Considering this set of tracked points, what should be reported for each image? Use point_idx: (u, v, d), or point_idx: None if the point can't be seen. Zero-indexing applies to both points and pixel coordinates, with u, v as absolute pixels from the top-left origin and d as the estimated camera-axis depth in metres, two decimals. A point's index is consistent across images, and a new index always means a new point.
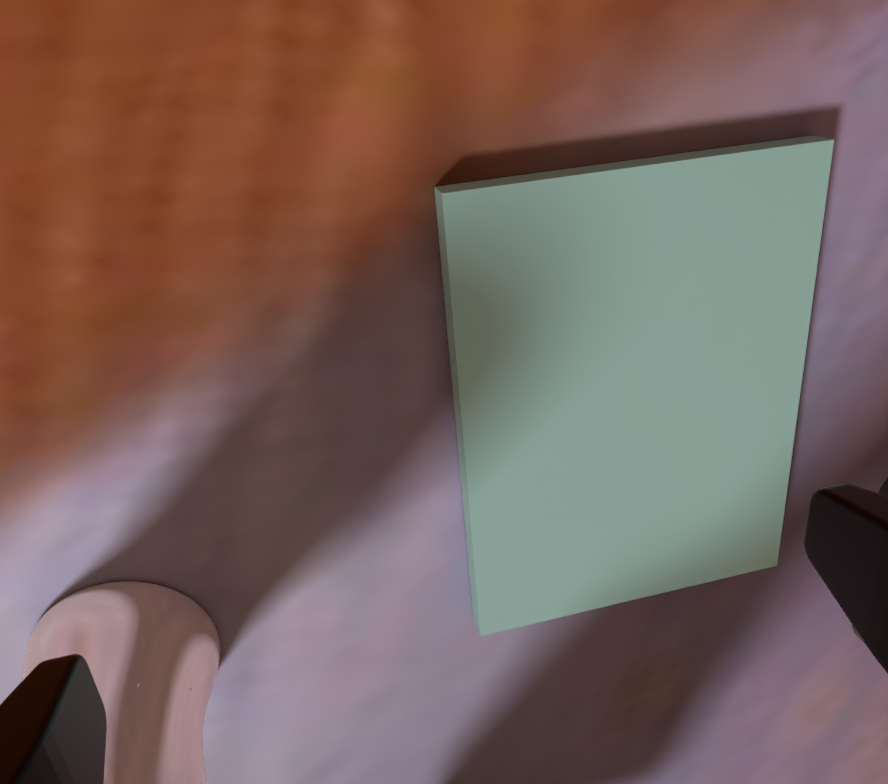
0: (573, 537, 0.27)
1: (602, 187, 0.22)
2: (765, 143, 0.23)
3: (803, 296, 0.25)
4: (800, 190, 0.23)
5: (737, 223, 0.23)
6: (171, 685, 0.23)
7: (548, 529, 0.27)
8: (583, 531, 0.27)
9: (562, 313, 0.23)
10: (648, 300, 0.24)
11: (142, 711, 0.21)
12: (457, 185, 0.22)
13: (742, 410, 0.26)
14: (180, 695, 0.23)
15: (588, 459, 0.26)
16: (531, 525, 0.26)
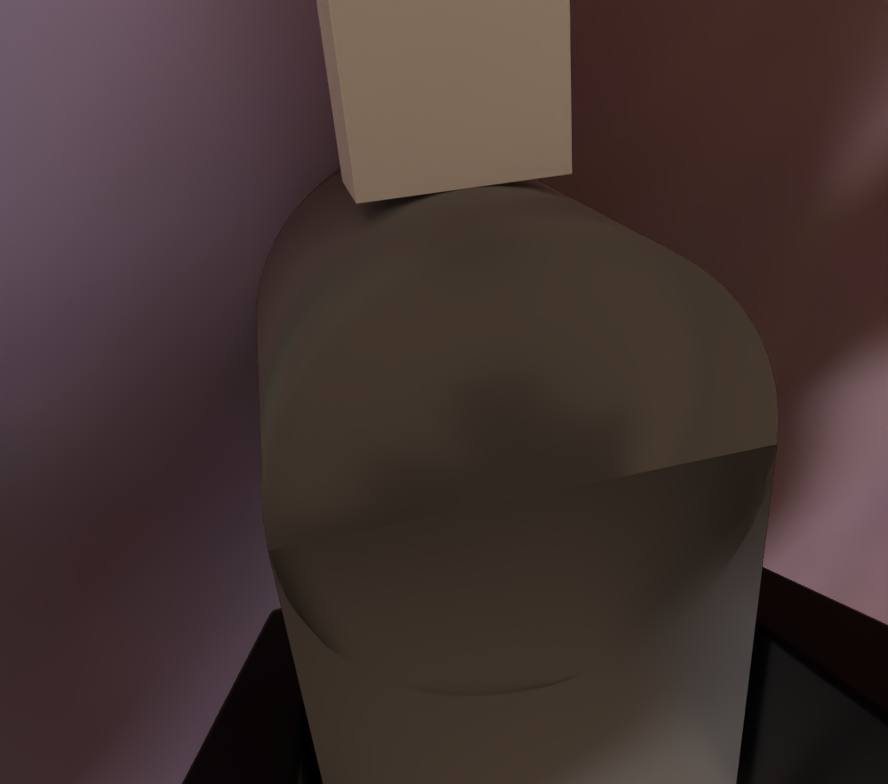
0: None
1: None
2: None
3: None
4: None
5: None
6: None
7: None
8: None
9: None
10: None
11: None
12: None
13: None
14: None
15: None
16: None
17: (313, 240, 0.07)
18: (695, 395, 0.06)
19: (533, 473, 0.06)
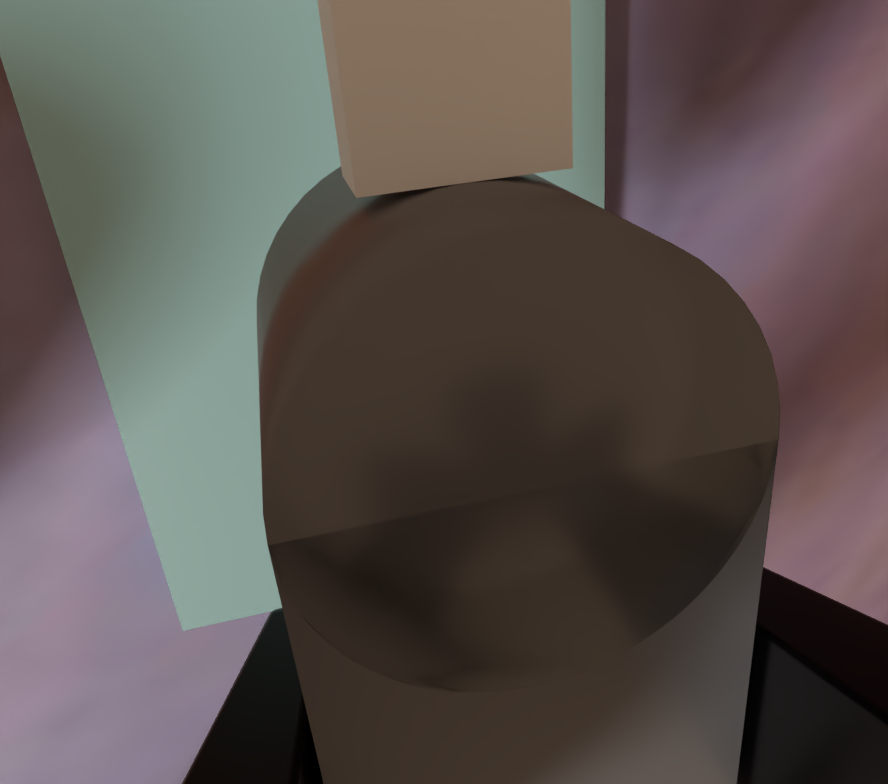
0: None
1: None
2: None
3: (589, 146, 0.18)
4: None
5: None
6: None
7: (256, 482, 0.19)
8: None
9: (212, 155, 0.16)
10: None
11: None
12: None
13: None
14: None
15: None
16: (227, 475, 0.19)
17: (313, 235, 0.07)
18: (696, 390, 0.06)
19: (534, 468, 0.06)
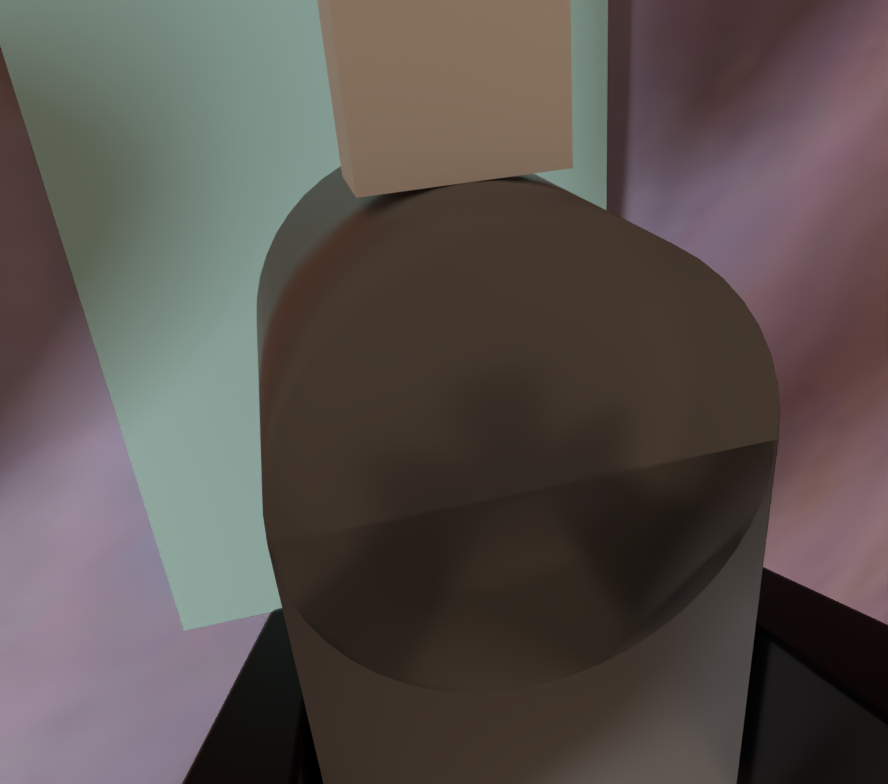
0: None
1: None
2: None
3: (592, 147, 0.18)
4: None
5: None
6: None
7: (257, 482, 0.19)
8: None
9: (215, 155, 0.16)
10: None
11: None
12: None
13: None
14: None
15: None
16: (229, 475, 0.19)
17: (313, 235, 0.07)
18: (696, 390, 0.06)
19: (534, 468, 0.06)
